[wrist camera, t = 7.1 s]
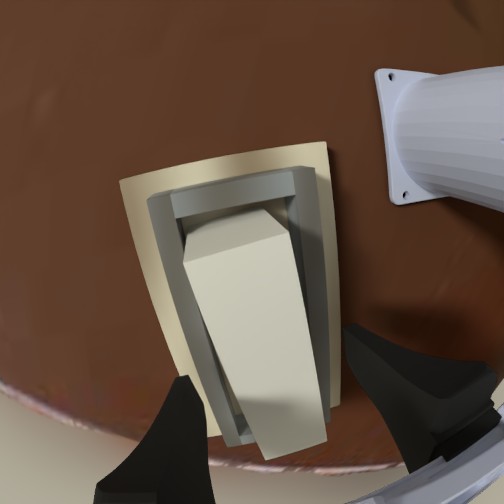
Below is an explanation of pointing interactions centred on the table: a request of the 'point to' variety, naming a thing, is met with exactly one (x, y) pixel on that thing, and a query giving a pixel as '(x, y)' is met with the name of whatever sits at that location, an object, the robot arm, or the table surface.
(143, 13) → the table surface
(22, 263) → the table surface
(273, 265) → the bar
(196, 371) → the cradle
